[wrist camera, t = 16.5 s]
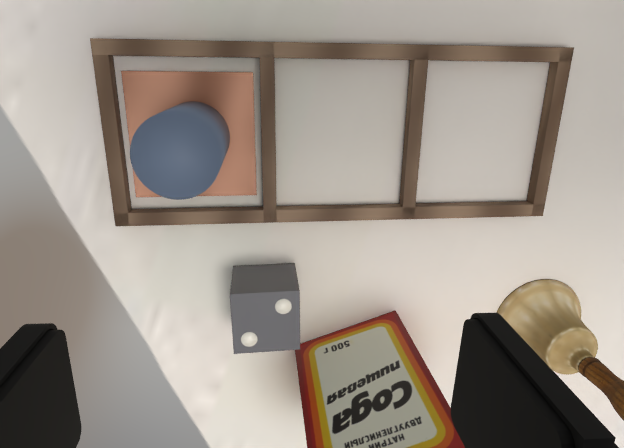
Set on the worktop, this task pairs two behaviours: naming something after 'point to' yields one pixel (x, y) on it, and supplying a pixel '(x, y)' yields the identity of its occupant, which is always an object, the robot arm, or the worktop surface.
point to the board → (240, 119)
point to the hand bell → (560, 334)
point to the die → (265, 308)
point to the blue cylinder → (180, 150)
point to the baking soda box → (371, 390)
